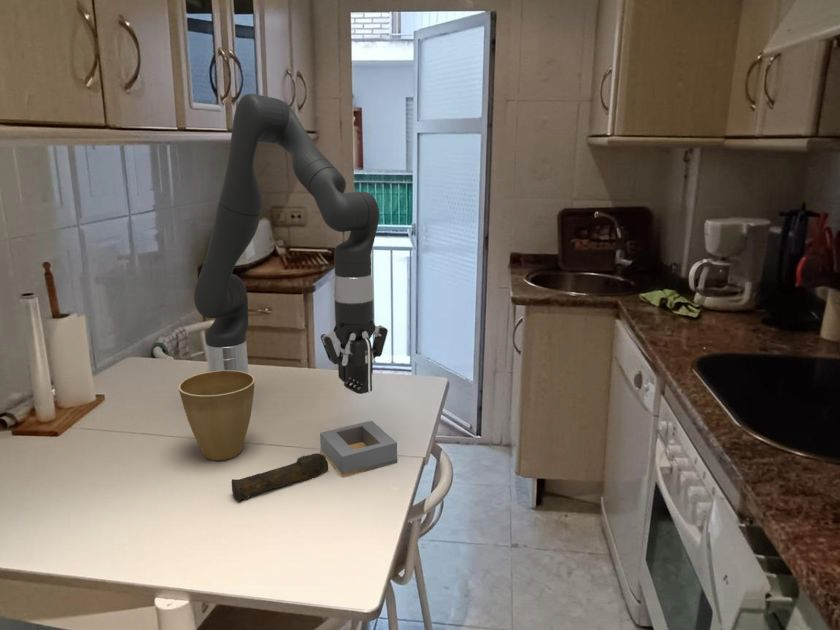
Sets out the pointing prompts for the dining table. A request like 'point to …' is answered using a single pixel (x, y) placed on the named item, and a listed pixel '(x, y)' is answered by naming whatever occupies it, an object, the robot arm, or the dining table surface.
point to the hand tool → (280, 476)
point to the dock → (358, 448)
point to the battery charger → (360, 366)
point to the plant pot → (218, 410)
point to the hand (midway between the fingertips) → (356, 379)
